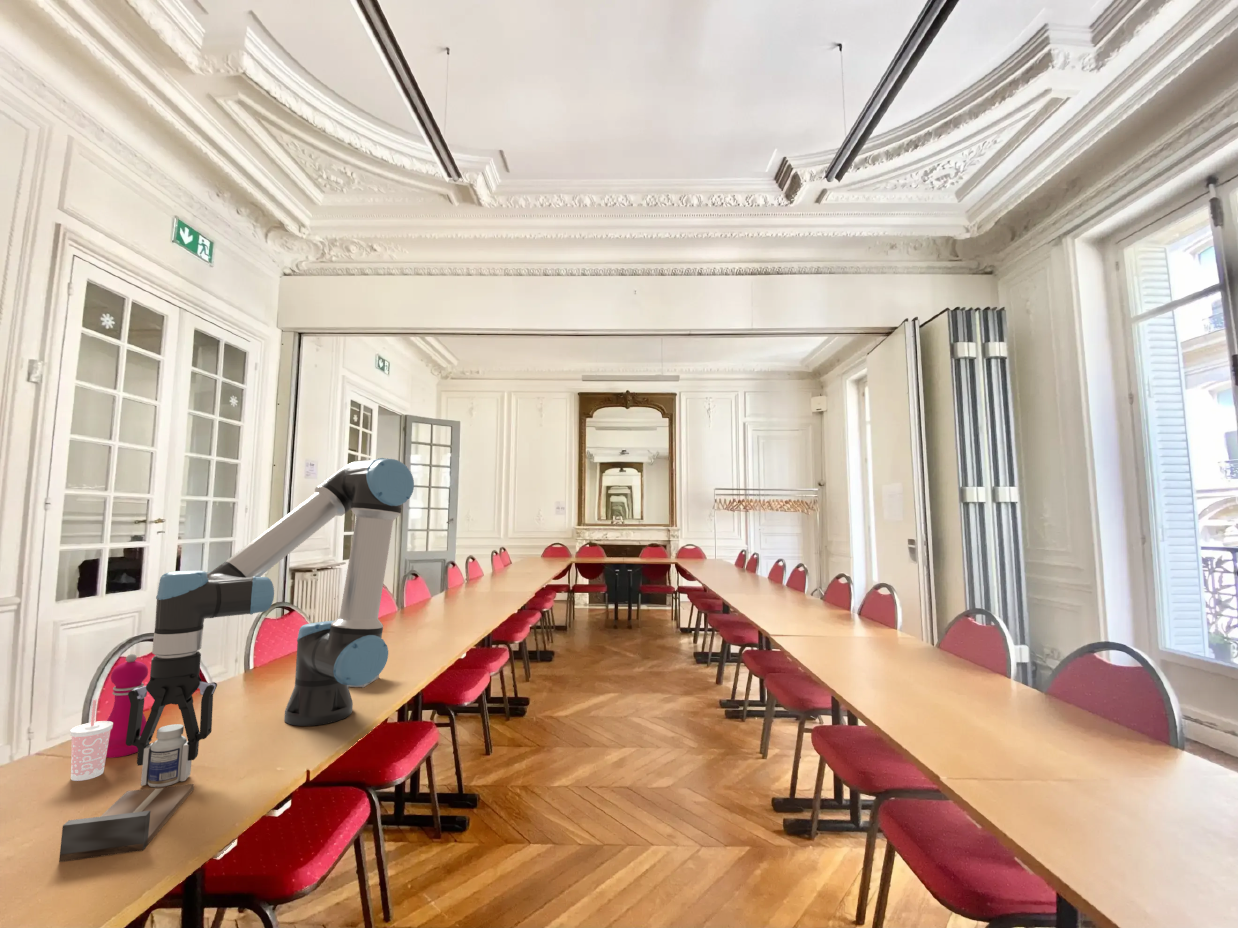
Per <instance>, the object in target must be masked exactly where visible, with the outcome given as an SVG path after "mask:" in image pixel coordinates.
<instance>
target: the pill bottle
mask: <svg viewBox="0 0 1238 928" xmlns="http://www.w3.org/2000/svg"><path fill="white" fill-rule="evenodd" d="M184 730H185V726H184V724H180V723H179V724H177V723H176V724H175V723H174V724H168V725H163V726H161V727H160V728H158V729H157V731H156V740H155V741H153V742H152V743H153V744H152V745H151V751H150V763H149V775H148V783H147V785H148V786H149V787H151V788H159V787H169V786H173V785H174V784H177V783H179V782H181V781H180V776H181V764H182V752H183V745H184V744H185V743H186V742H187V741H188V739H187V736H184V735H183V734H184Z"/></svg>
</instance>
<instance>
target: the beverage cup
mask: <svg viewBox="0 0 1238 928" xmlns="http://www.w3.org/2000/svg"><path fill="white" fill-rule="evenodd" d="M96 708H97V699H96V698H94V699H92V708H91V719H90V722H87V723H83V724H78V725H76V726H73V727H72V728H71V729H70V730H69V736H71V747H70V750H71V751H70V752H71V756H70V758H71V759H70V760H71V761H70V780H71V781H75V782H77V781H78V782H79V781H80V782H81V781H87V780H92V779H94V778H96V777H100V776H101V775H103V774H104V770H105V765H106V758H107V757H106V754H107V748H108V742H109V736H110V730H111V729H112V727H113V722H111V721H107V720H100V721H98V720H97V721H95V717H96V710H97V709H96Z"/></svg>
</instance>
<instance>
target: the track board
mask: <svg viewBox="0 0 1238 928" xmlns="http://www.w3.org/2000/svg"><path fill="white" fill-rule="evenodd" d="M194 787H195V783H188V784H181V785H179V784H178V785H169V786H164V787H151V788H144V789H143V788H141V789H135V790H134V789H133V790H127V791H126V792H125V793H124V794H123V795H122V796H120V797H119V798H118V799H117V800H116V801H115V802H114V803H113V804H112V805H111V806H109V808H108V809H107V810H105V811H104V813H102V815H100V816H94V817H86V818H78V819H71V820H70V819H69V820H68V821H66V822H65V823H64V824H63V825H62V830H61V840H60V849H59V857H58V862H59V863H61V862H63V863H64V862H69V861H70V862H71V861H77V860H83V859H84V860H85V859H90V858H91V859H92V858H97V857H98V858H99V857H100V858H101V857H106V856H114V855H121V854H127V853H134V852H135V853H136V852H143V851H144V850H145V849H146V847H147V846H148V845H150V843H151V841H152V840H153V839H154V838H155V837H156V836H157V834H158V833H159V832H160V830H162V828H163V827H164V826H165V824H166V823H167V822H168V821H169V820H170V818H171V817H172V816H174V814H175V812H177V810H178V809H179V807H180V806H181V805H182V804H183V803H184V801H185V800H187V798H188V797H189V796H190V795H191V793H192V792H193V791H194V790H195V789H194Z"/></svg>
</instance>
